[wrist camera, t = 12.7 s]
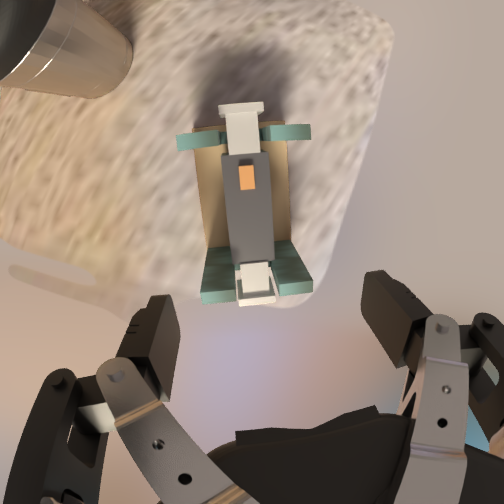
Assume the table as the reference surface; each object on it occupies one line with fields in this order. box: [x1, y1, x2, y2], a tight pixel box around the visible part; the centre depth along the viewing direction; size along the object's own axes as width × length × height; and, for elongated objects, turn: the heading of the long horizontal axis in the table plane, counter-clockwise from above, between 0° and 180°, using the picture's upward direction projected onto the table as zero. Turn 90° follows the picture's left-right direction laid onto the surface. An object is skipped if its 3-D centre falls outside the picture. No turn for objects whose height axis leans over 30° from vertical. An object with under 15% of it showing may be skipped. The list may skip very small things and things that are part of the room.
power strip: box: [218, 102, 276, 306], centre depth 26 cm, size 4×19×6 cm, turn 5°
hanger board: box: [176, 121, 313, 304], centre depth 26 cm, size 10×16×11 cm, turn 5°
